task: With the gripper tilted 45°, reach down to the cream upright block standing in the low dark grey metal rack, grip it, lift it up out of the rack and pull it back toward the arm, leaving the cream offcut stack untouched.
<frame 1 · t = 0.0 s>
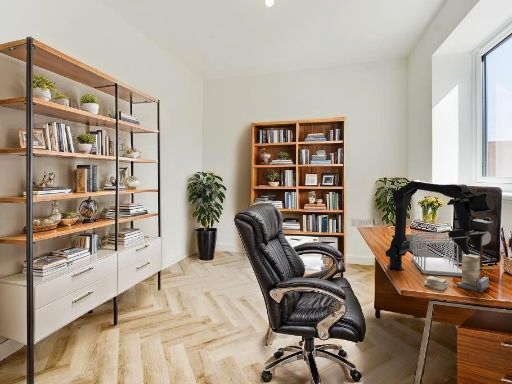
hand: (473, 253, 119), 15 cm above the table, tool pointing down, fingers open, 9 cm apart
offcut stack: (435, 286, 126), on the table
rack: (470, 286, 125), on the table
file sorter: (435, 268, 150), on the table
cream upright block: (470, 286, 125), resting in rack
magnifying glass: (480, 269, 147), on the table
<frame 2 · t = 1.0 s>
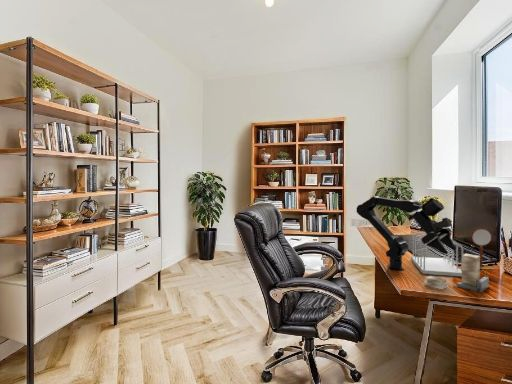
hand: (450, 251, 130), 13 cm above the table, tool tilted 45°, fingers open, 9 cm apart
file sorter: (435, 268, 150), on the table, touching gripper
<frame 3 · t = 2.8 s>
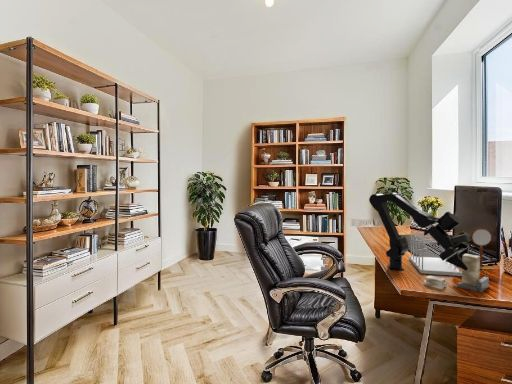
hand: (470, 267, 125), 8 cm above the table, tool tilted 45°, fingers open, 9 cm apart
file sorter: (433, 267, 151), on the table
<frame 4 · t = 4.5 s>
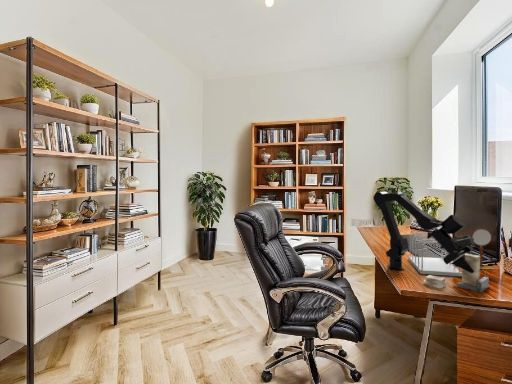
hand: (474, 271, 124), 7 cm above the table, tool tilted 45°, fingers closed on cream upright block, 4 cm apart
cream upright block: (470, 286, 125), resting in rack, touching gripper
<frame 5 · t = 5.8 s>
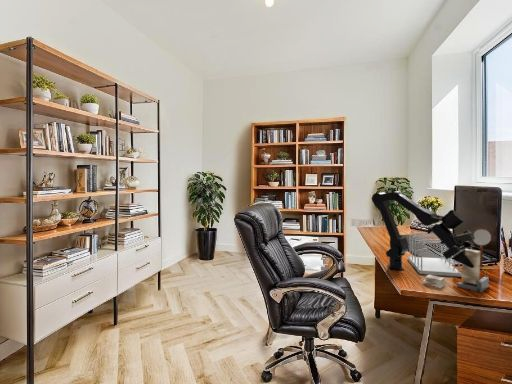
hand: (474, 266, 124), 9 cm above the table, tool tilted 45°, fingers closed on cream upright block, 4 cm apart
cream upright block: (470, 281, 125), point 2 cm above the table, touching gripper
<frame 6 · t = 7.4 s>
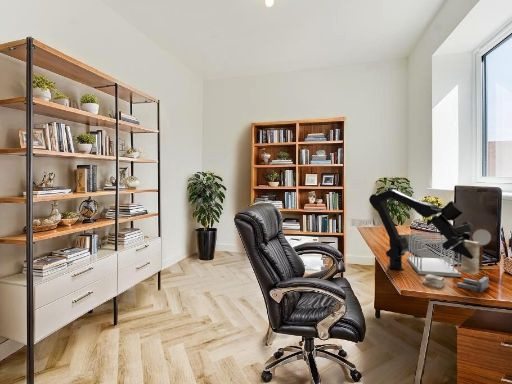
hand: (474, 257, 124), 12 cm above the table, tool tilted 45°, fingers closed on cream upright block, 4 cm apart
cream upright block: (469, 272, 125), point 6 cm above the table, touching gripper
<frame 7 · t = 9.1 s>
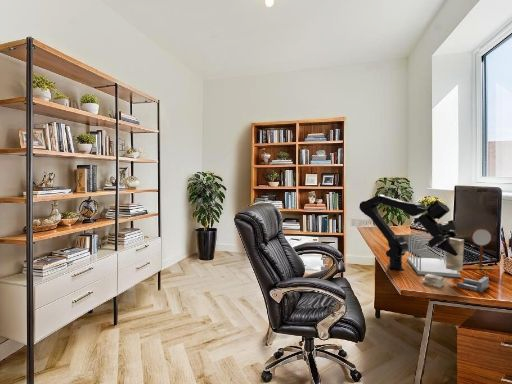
hand: (458, 254, 128), 13 cm above the table, tool tilted 45°, fingers closed on cream upright block, 4 cm apart
cream upright block: (454, 269, 129), point 6 cm above the table, touching gripper
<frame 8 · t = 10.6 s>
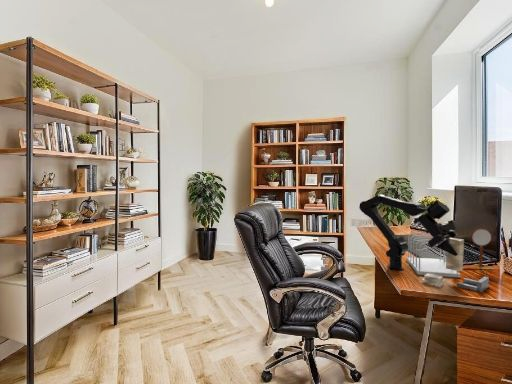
hand: (458, 254, 128), 13 cm above the table, tool tilted 45°, fingers closed on cream upright block, 4 cm apart
cream upright block: (454, 269, 129), point 6 cm above the table, touching gripper
at the end: cream upright block point 5.9 cm above the table; cream upright block touching gripper; the gripper is holding cream upright block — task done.
